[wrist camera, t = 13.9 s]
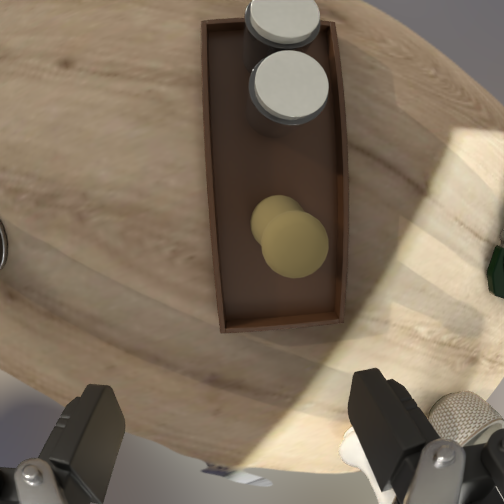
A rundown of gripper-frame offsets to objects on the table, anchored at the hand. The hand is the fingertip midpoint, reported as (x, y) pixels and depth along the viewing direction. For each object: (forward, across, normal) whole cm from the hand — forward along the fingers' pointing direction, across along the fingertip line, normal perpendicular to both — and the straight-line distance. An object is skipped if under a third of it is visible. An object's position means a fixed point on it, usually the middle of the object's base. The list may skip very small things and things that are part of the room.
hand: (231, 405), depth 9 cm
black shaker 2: (+24, -5, -13) cm, 28 cm away
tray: (+25, -5, -7) cm, 26 cm away
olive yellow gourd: (+25, -5, -1) cm, 25 cm away
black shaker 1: (+24, -5, -20) cm, 32 cm away
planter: (+25, -37, +35) cm, 57 cm away
